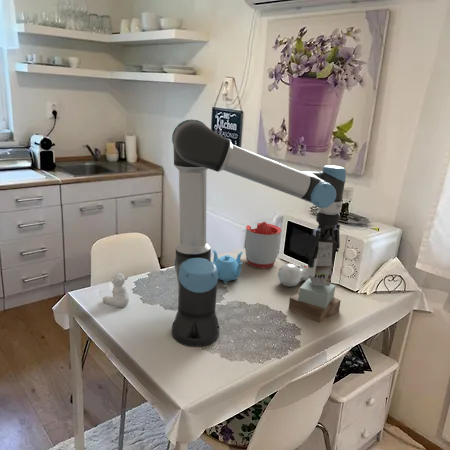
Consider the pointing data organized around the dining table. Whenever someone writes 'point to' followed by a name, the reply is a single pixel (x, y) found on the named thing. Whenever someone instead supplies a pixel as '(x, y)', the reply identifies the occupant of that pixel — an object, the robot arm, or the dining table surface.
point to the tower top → (316, 294)
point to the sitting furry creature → (118, 292)
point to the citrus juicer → (262, 245)
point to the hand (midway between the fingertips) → (319, 271)
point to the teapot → (227, 267)
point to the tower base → (314, 309)
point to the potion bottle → (292, 274)
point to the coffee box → (324, 262)
